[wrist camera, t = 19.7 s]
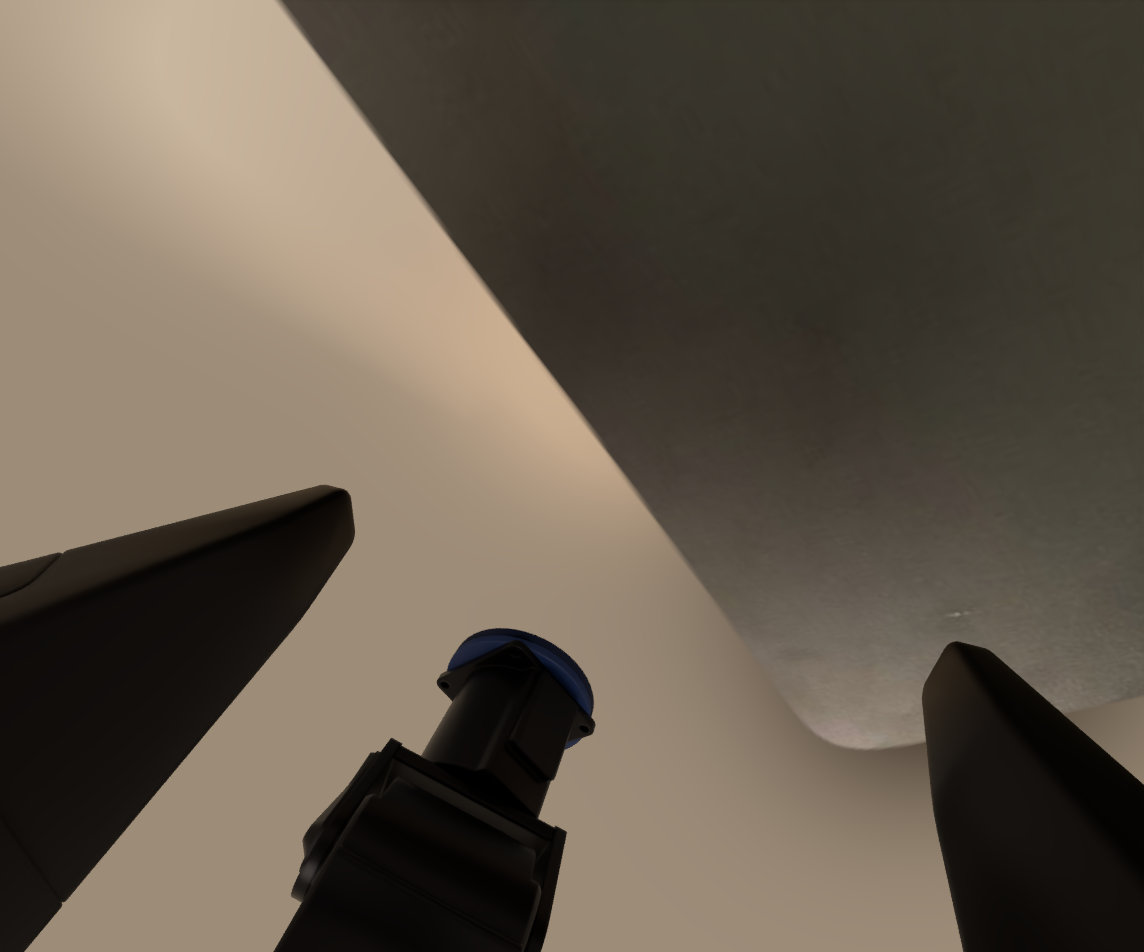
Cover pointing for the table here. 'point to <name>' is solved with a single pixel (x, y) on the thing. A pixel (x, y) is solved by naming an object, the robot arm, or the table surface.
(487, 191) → the table surface
